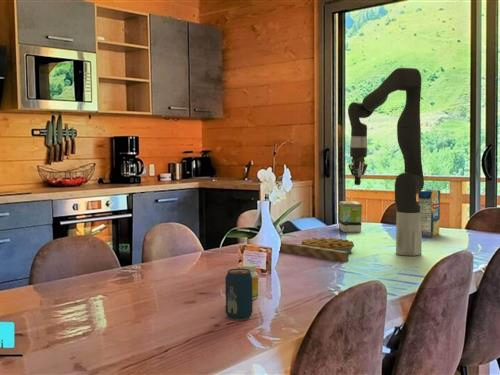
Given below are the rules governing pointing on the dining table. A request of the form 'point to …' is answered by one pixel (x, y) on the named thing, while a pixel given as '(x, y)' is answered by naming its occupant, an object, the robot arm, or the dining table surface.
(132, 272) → the dining table surface
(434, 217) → the beverage box
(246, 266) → the supplement bottle
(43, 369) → the dining table surface
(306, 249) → the walnut board
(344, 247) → the pie
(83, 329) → the dining table surface
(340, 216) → the tea box
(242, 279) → the soda can
